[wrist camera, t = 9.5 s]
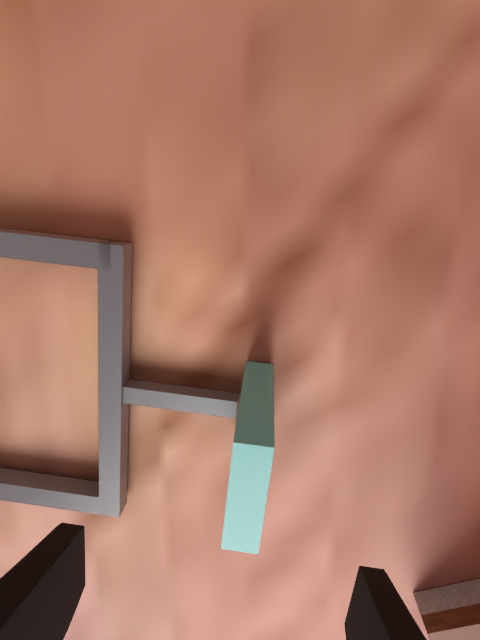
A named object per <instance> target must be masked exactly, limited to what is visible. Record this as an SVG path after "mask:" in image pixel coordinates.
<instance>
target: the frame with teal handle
mask: <svg viewBox="0 0 480 640" xmlns="http://www.w3.org/2000/svg"><path fill="white" fill-rule="evenodd" d="M0 257H3V258H12V259H20V260H29V261H37V262H45V263H54V264H62V265H70V266H79V267H87V268H95V269H98V380H99V482H97V481H90V480H83V479H76V478H69V477H62V476H55V475H48V474H41V473H34V472H27V471H20V470H13V469H6V468H0V500H4V501H11V502H18V503H25V504H32V505H38V506H45V507H52V508H59V509H66V510H73V511H79V512H86V513H93V514H100V515H107V516H114V517H120V515H121V513H122V511H123V509H124V507H125V505H126V502H127V464H128V418H129V404H132V405H140V406H147V407H155V408H162V409H170V410H177V411H185V412H192V413H199V414H207V415H214V416H222V417H229V418H236V412H237V405H238V397H239V393H234V392H226V391H218V390H211V389H203V388H195V387H188V386H180V385H173V384H165V383H157V382H150V381H142V380H134V379H129V372H130V325H131V279H132V243H127V242H118V241H109V240H101V239H92V238H84V237H75V236H67V235H58V234H49V233H41V232H32V231H24V230H15V229H6V228H0ZM274 448H275V447H274V364H267V363H259V362H251V361H246V365H245V371H244V378H243V384H242V390H241V397H240V403H239V409H238V416H237V422H236V428H235V435H234V441H233V449H232V458H231V467H230V475H229V484H228V493H227V501H226V510H225V518H224V527H223V536H222V544H221V549H226V550H233V551H239V552H246V553H253V554H258V552H259V546H260V539H261V533H262V526H263V520H264V513H265V506H266V500H267V493H268V487H269V480H270V474H271V467H272V461H273V454H274Z"/></svg>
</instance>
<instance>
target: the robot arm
mask: <svg viewBox="0 0 480 640" xmlns="http://www.w3.org/2000/svg"><path fill="white" fill-rule="evenodd" d="M84 587H85V538H84V526H81V525H74V524H67V523H61V524H59V525H58V526H57V527H56V528H55V529H54V530H53V531H51V532H50V533H49V534H48V535H47V536H46V537H45V538H44V539H43V540H42V541H41V542H40V543H39V544H38V545H37V546H36V547H34V548H33V549H32V550H31V551H30V552H29V553H28V554H27V555H26V556H25V557H24V558H23V559H21V560H20V561H19V562H18V563H17V564H16V565H15V566H14V567H13V568H12V569H11V570H9V571H8V572H7V573H6V574H5V575H4V576H3V577H2V578H0V640H63V638H64V636H65V634H66V632H67V630H68V628H69V625H70V623H71V620H72V618H73V615H74V613H75V610H76V608H77V605H78V602H79V600H80V597H81V595H82V592H83V589H84ZM345 632H346V640H426V638H425V636H424V635H423V633H422V632H421V630H420V628H419V627H418V625H417V624H416V622H415V620H414V619H413V617H412V615H411V614H410V612H409V610H408V609H407V607H406V605H405V604H404V602H403V600H402V599H401V597H400V595H399V594H398V592H397V590H396V589H395V587H394V585H393V583H392V582H391V580H390V578H389V577H388V575H387V573H386V572H385V571H384V569H378V568H371V567H364V566H359V570H358V573H357V577H356V581H355V585H354V589H353V593H352V597H351V601H350V605H349V609H348V613H347V617H346V620H345Z"/></svg>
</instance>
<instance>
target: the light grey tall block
mask: <svg viewBox="0 0 480 640" xmlns="http://www.w3.org/2000/svg"><path fill="white" fill-rule="evenodd" d="M413 594H414V597H415V600H416V602H417V605H418V608H419V611H420V614H421V616H422V619H423V622H424V625H425V628H426V630H427V633H428V636H429V639H430V640H480V579H475V580H470V581H465V582H461V583H456V584H451V585H447V586H442V587H437V588H433V589H428V590H423V591H418V592H414V593H413Z"/></svg>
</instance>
